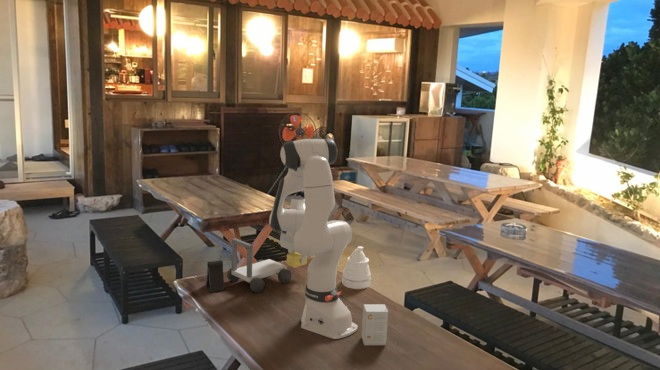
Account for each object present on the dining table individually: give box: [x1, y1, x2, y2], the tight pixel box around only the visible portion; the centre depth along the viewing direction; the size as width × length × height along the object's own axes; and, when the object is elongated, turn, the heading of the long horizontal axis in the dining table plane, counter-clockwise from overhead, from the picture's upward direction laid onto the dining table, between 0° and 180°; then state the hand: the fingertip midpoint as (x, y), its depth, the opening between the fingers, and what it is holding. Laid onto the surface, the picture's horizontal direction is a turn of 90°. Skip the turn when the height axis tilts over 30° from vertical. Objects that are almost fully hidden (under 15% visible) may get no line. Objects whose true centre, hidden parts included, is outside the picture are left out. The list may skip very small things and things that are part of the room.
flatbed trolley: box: [226, 238, 293, 294], centre depth 241 cm, size 22×18×21 cm
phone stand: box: [205, 260, 225, 293], centre depth 232 cm, size 9×6×12 cm, turn 25°
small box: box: [361, 303, 389, 346], centre depth 193 cm, size 8×6×13 cm
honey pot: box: [341, 245, 372, 290], centre depth 245 cm, size 13×13×18 cm
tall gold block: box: [286, 251, 308, 269], centre depth 247 cm, size 5×8×5 cm, turn 135°
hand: (297, 260), depth 247 cm, fingers closed on tall gold block, 5 cm apart
